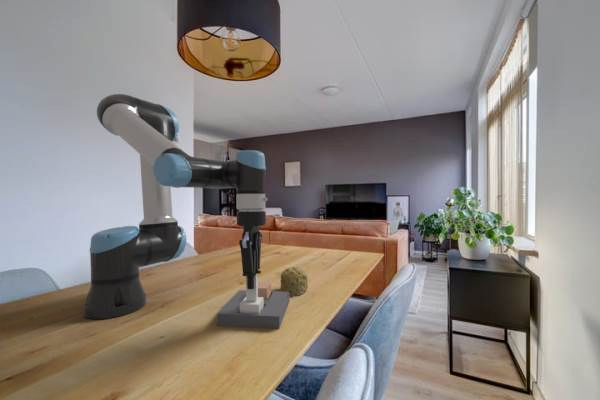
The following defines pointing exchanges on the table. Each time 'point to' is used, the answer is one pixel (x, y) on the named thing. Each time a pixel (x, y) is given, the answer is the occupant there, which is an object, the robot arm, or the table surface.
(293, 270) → the rock
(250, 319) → the key panel
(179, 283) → the table surface
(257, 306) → the key soft
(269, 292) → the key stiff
